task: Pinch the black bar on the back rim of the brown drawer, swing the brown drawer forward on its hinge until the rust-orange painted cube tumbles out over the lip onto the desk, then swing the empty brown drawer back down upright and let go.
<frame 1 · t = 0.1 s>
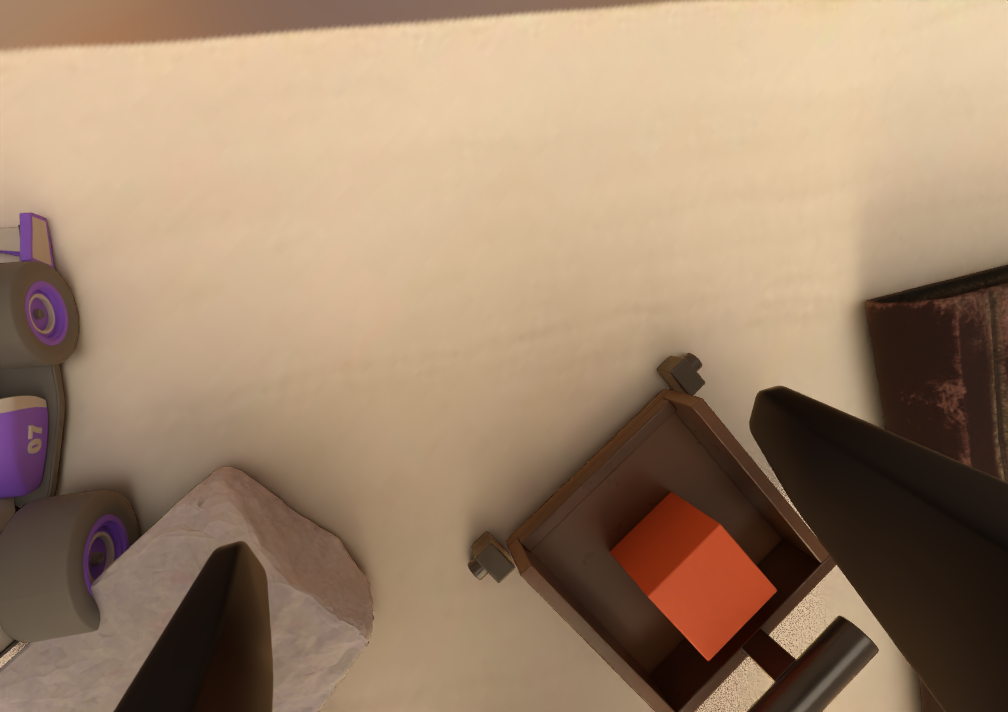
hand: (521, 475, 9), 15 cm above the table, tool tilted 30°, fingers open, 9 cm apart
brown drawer: (696, 576, 22), point 4 cm above the table, hinge at 0.0°, touching cube
stone block: (221, 624, 23), on the table, touching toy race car
hinge brackets: (650, 534, 26), on the table
cube: (666, 550, 25), point 1 cm above the table, touching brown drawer
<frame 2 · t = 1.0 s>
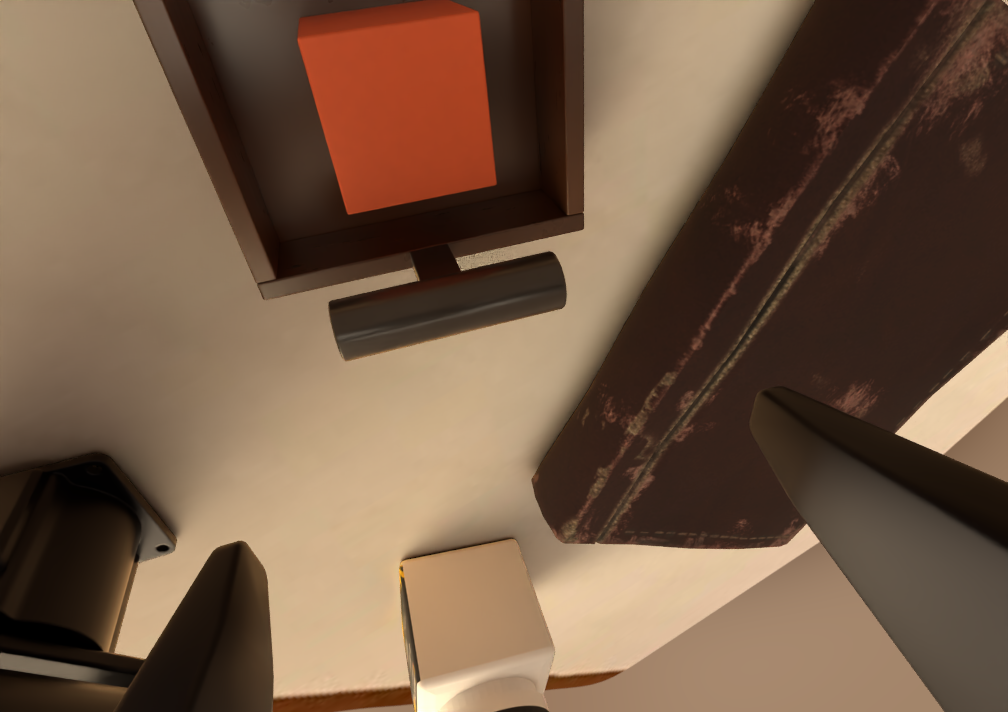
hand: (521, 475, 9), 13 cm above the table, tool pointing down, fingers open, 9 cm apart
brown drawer: (400, 99, 14), point 4 cm above the table, hinge at 0.0°, touching cube
medicine bottle: (456, 578, 34), on the table
diary: (770, 311, 28), on the table
cube: (389, 86, 16), point 1 cm above the table, touching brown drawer
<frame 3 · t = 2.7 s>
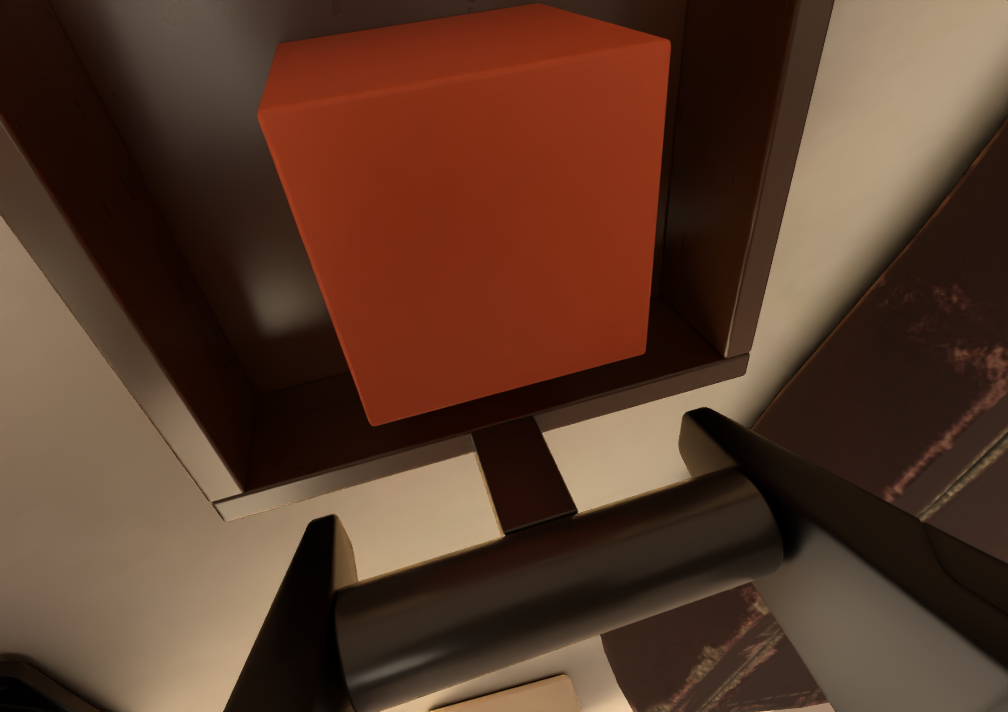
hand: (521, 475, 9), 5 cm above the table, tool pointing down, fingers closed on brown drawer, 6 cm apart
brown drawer: (474, 207, 7), point 4 cm above the table, hinge at 0.0°, touching cube, gripper
diary: (916, 410, 21), on the table
cube: (437, 157, 9), point 1 cm above the table, touching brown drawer
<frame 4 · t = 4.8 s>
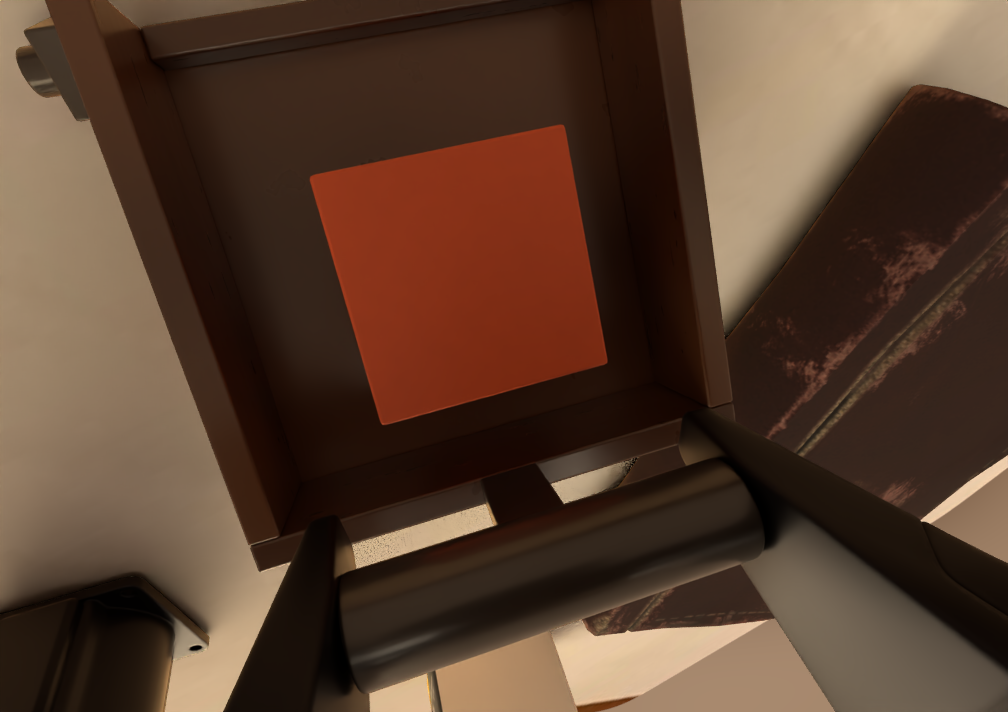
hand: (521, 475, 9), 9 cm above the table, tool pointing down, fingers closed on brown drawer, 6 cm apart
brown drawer: (459, 261, 10), point 6 cm above the table, hinge at 28.8°, touching cube, gripper
medicine bottle: (481, 639, 35), on the table
hinge brackets: (424, 219, 16), on the table
diary: (807, 397, 27), on the table
cube: (447, 269, 13), point 4 cm above the table, tilted 29°, touching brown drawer
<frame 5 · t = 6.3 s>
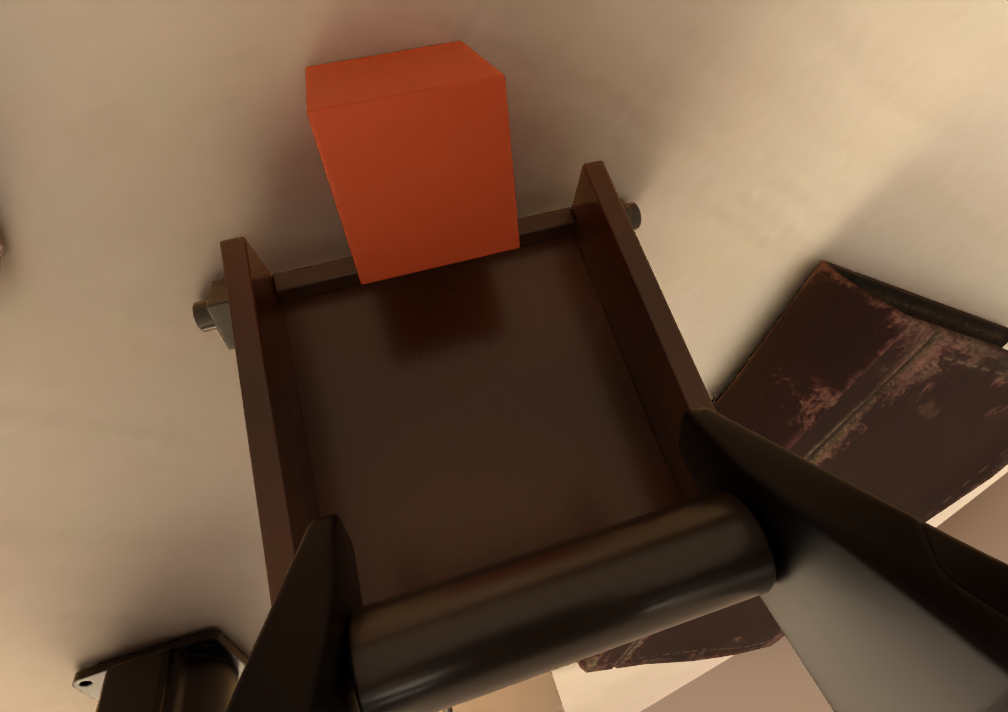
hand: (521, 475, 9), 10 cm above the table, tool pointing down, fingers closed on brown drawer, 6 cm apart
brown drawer: (477, 380, 12), point 7 cm above the table, hinge at 61.0°, touching gripper
medicine bottle: (488, 670, 39), on the table
hinge brackets: (453, 372, 21), on the table
diary: (763, 468, 33), on the table
cube: (427, 189, 12), point 4 cm above the table, tilted 180°
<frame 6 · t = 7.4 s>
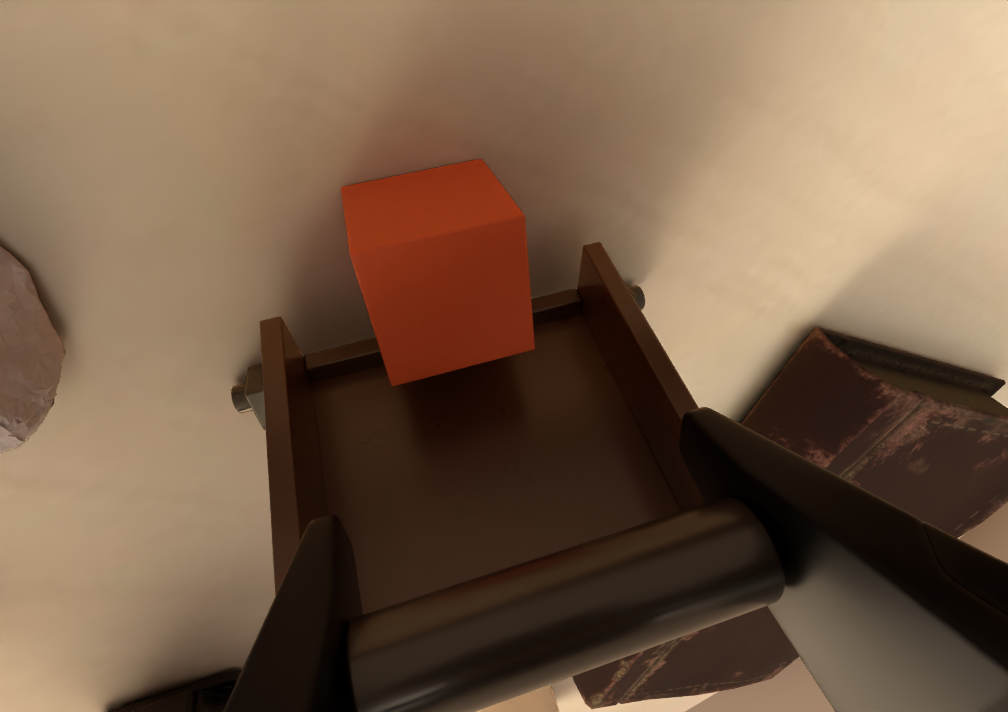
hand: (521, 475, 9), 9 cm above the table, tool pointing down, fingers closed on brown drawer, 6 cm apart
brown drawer: (488, 429, 13), point 6 cm above the table, hinge at 74.8°, touching gripper
medicine bottle: (495, 701, 40), on the table
hinge brackets: (467, 435, 22), on the table
diary: (763, 509, 34), on the table
cube: (453, 307, 13), point 4 cm above the table, tilted 180°
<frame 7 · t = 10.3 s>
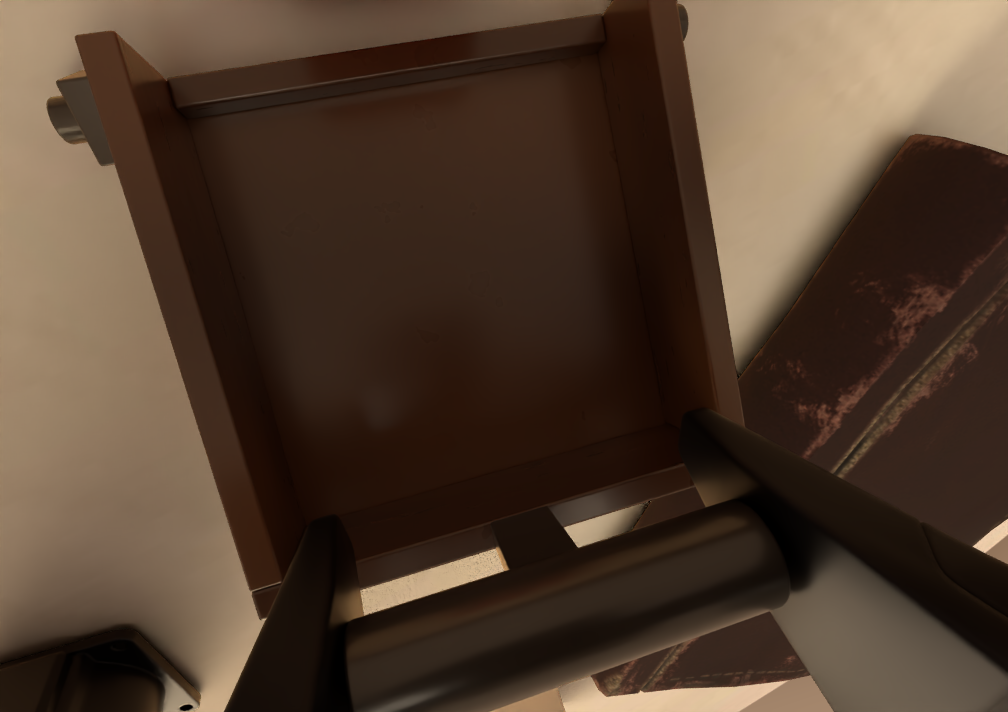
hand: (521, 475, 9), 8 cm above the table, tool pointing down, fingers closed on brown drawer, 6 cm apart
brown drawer: (471, 299, 10), point 6 cm above the table, hinge at 28.5°, touching gripper
medicine bottle: (485, 700, 33), on the table
hinge brackets: (434, 262, 16), on the table
diary: (819, 442, 27), on the table
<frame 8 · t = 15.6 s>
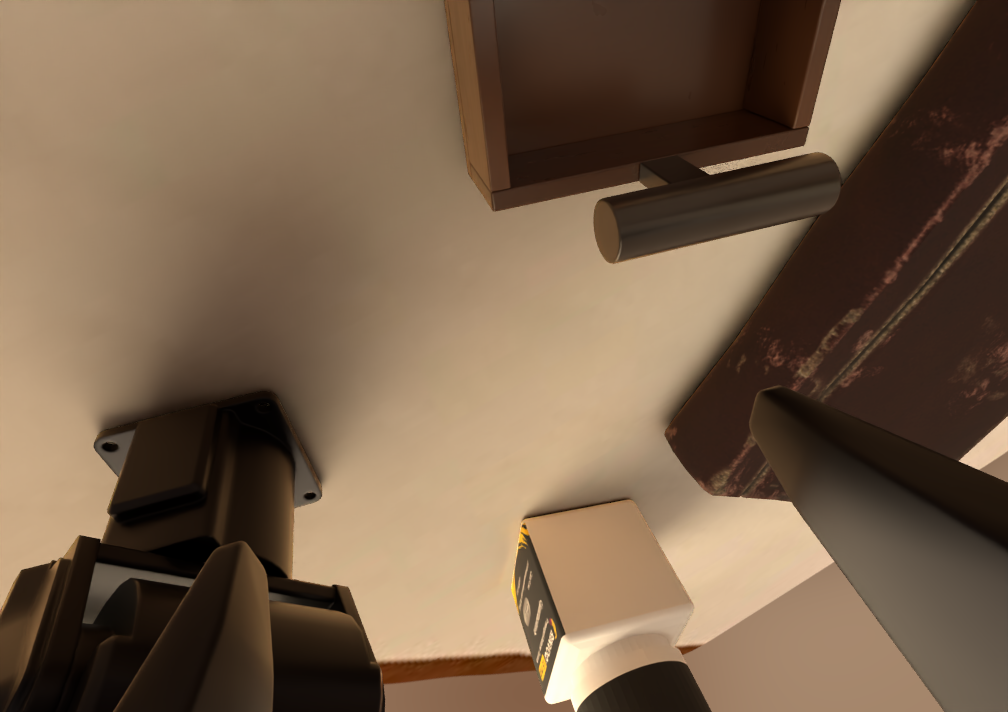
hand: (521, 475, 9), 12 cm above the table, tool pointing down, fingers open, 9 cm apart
medicine bottle: (568, 540, 34), on the table
diary: (917, 260, 27), on the table
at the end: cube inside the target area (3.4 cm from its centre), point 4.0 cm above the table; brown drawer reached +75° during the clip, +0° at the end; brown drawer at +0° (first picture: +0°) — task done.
